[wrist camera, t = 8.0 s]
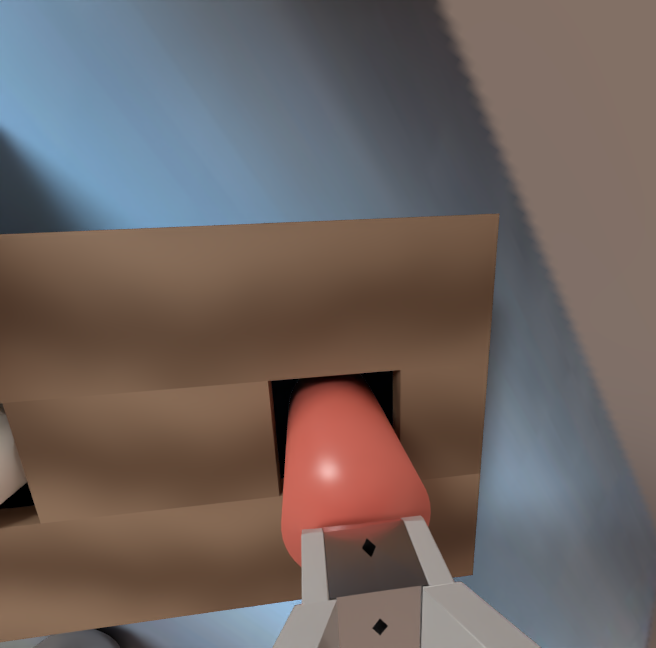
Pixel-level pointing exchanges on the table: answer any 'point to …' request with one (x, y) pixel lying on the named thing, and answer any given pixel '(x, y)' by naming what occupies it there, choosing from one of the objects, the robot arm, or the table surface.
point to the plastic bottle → (79, 640)
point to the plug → (9, 461)
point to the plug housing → (219, 400)
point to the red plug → (343, 461)
